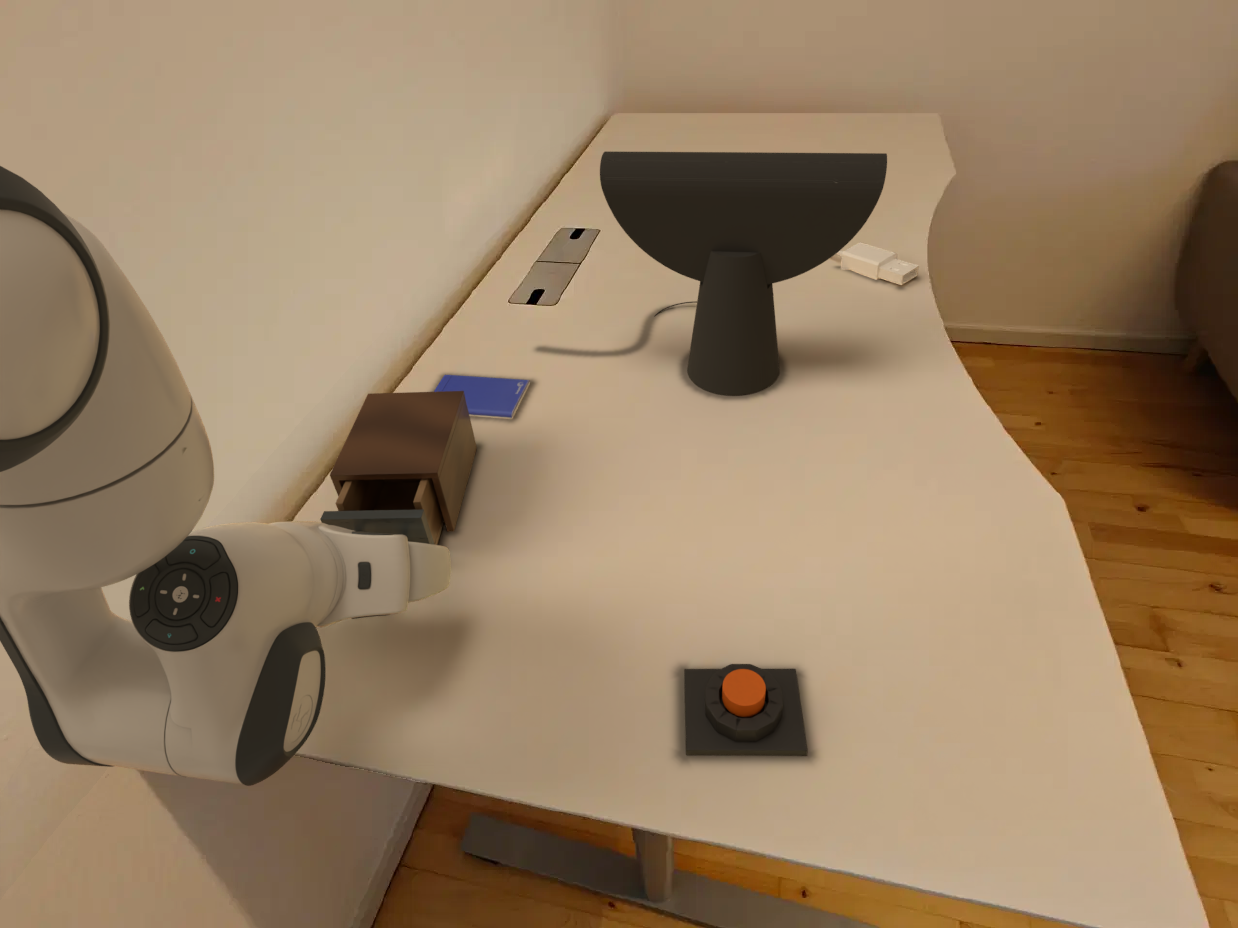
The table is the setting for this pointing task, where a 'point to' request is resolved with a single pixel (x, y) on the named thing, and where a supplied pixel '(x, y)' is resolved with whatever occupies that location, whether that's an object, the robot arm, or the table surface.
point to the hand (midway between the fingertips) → (366, 564)
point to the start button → (743, 693)
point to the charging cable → (877, 263)
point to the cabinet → (412, 444)
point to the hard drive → (487, 394)
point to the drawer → (389, 508)
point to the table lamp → (740, 239)
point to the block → (734, 735)
